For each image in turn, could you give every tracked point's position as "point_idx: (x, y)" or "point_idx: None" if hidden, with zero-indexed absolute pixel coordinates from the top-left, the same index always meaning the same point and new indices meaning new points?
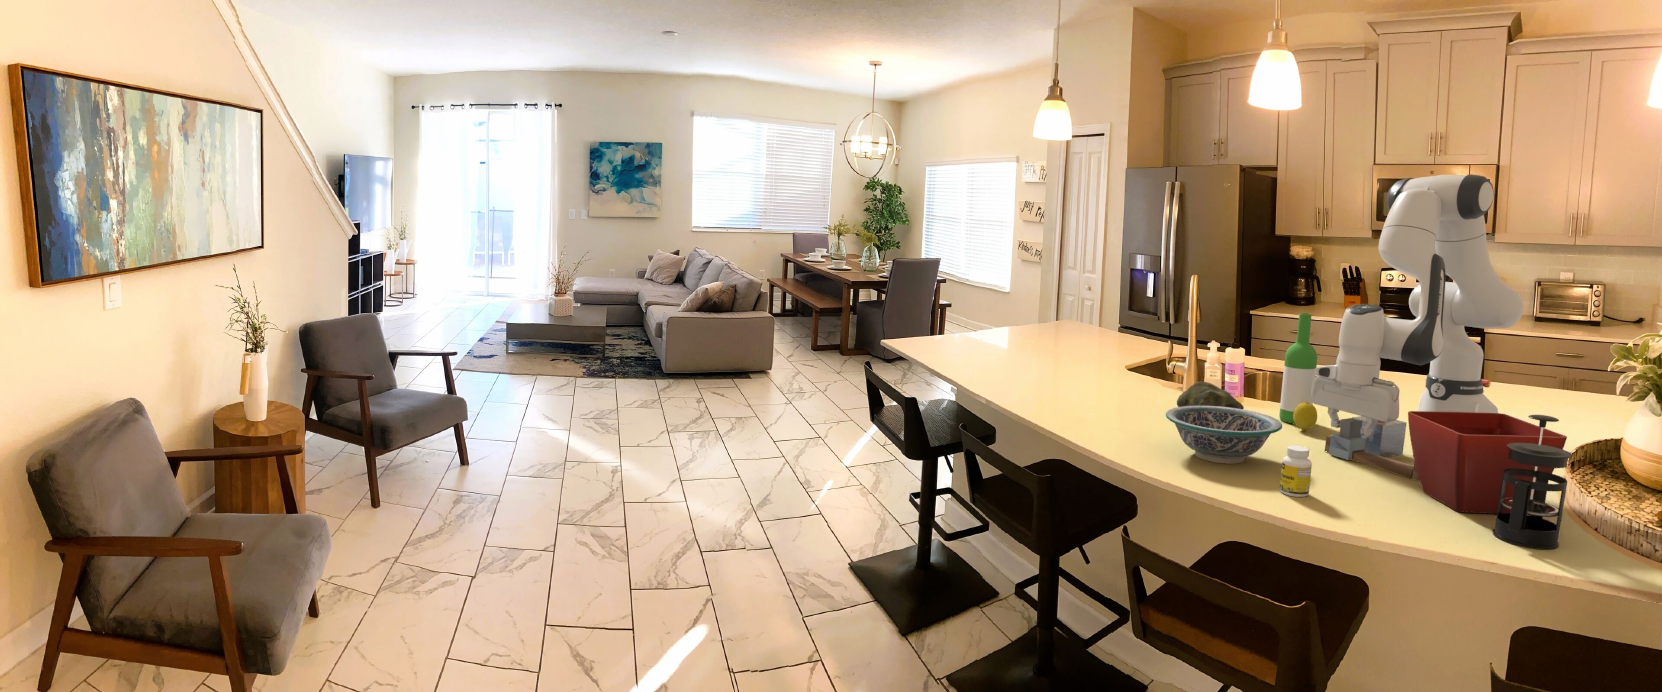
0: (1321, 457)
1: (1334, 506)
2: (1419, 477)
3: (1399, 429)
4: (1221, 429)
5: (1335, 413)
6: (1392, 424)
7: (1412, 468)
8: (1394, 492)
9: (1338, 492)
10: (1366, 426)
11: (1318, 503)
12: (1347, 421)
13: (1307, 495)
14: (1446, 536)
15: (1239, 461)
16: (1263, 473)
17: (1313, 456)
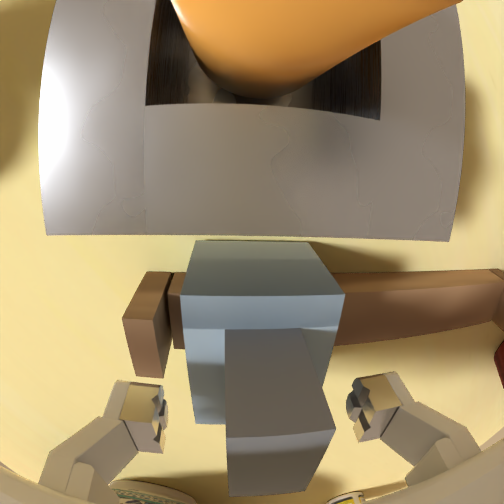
0: None
1: (398, 480)
2: (502, 384)
3: None
4: None
5: (93, 463)
6: (464, 94)
7: (491, 310)
8: (455, 402)
9: (386, 466)
10: (399, 447)
11: (381, 488)
12: (281, 490)
13: (362, 493)
14: (494, 425)
15: (195, 501)
16: (259, 500)
17: None
